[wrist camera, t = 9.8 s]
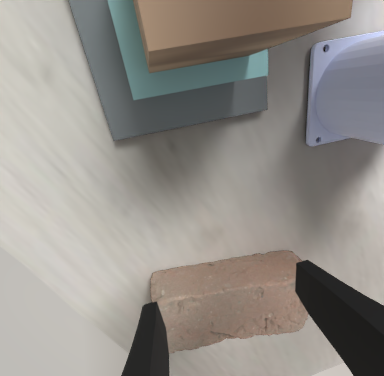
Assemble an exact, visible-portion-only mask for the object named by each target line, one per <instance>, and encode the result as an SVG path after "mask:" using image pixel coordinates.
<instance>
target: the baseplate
mask: <svg viewBox="0 0 384 376" xmlns="http://www.w3.org/2000/svg"><path fill="white" fill-rule="evenodd" d="M69 4H70V7H71V10H72V13H73V16H74V19H75V22H76V25H77V28H78V32H79V35H80V38H81V41H82V44H83V47H84V50H85V53H86V56H87V60H88V63H89V66H90V69H91V72H92V75H93V78H94V81H95V84H96V87H97V91H98V94H99V97H100V100H101V103H102V106H103V109H104V112H105V115H106V119H107V122H108V125H109V128H110V131H111V134H112V137H113V140H114V141H115V140H120V139H125V138H130V137H135V136H140V135H145V134H150V133H155V132H160V131H165V130H170V129H175V128H180V127H185V126H190V125H195V124H199V123H204V122H209V121H214V120H219V119H224V118H229V117H234V116H239V115H244V114H249V113H254V112H259V111H264V110H267V76H261V77H256V78H250V79H245V80H240V81H234V82H229V83H224V84H218V85H213V86H208V87H202V88H197V89H192V90H186V91H181V92H176V93H170V94H165V95H159V96H154V97H149V98H143V99H138V100H133V96H132V92H131V88H130V84H129V81H128V77H127V73H126V69H125V65H124V61H123V58H122V54H121V50H120V46H119V42H118V39H117V35H116V31H115V27H114V23H113V19H112V16H111V12H110V8H109V4H108V0H69Z"/></svg>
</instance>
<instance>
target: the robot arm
mask: <svg viewBox="0 0 384 376" xmlns="http://www.w3.org/2000/svg"><path fill="white" fill-rule="evenodd" d="M324 46H325V48H326V49H325V51H323V47H324ZM317 138H318V140H317V141H316V139H317ZM348 138H355V139H360V140H364V141H369V142H373V143H378V144H382V145H384V31H378V32H373V33H367V34H361V35H356V36H350V37H344V38H339V39H333V40H327V41H322V42H318V43H315V44H314V45H313V46H312V48H311V58H310V76H309V94H308V112H307V130H306V144H307V145H308V146H317V145H321V144H326V143H330V142H335V141H339V140H344V139H348ZM295 292H296V294H297V295H298V297H299V299H300V301H301V302H302V304H303V306H304V307H305V309H306V311H307V312H308V313H309V315H310V316H311V318H312V319H313V320H314V322H315V323H316V324H317V326H318V327H319V328H320V330H321V331H322V332H323V334H324V335H325V336H326V338H327V339H328V341H329V342H330V343H331V345H332V346H333V347H334V349H335V350H336V351H337V353H338V354H339V355H340V357H341V358H342V359H343V361H344V362H345V364H346V365H347V366H348V368H349V369H350V371H351V372H352V374H353V376H384V306H383V305H381V304H380V303H378V302H376V301H374V300H372V299H370V298H369V297H367V296H365V295H363V294H362V293H360V292H358V291H357V290H355V289H353V288H352V287H350V286H348V285H347V284H345V283H343V282H342V281H340V280H338V279H337V278H335V277H334V276H332V275H331V274H329V273H327V272H326V271H324V270H323V269H321V268H320V267H318V266H316V265H315V264H313V263H312V262H310V261H308V260H305V261H302V262H298V263H296V281H295ZM121 376H169V350H168V341H167V332H166V327H165V324H164V321H163V318H162V315H161V312H160V309H159V306H158V303H157V301H156V302H152V303H149V304H145V305H144V306H143V307H142V311H141V316H140V320H139V323H138V327H137V331H136V334H135V337H134V341H133V344H132V347H131V350H130V353H129V356H128V359H127V362H126V365H125V367H124V370H123V372H122V375H121Z"/></svg>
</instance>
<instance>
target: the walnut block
mask: <svg viewBox="0 0 384 376" xmlns="http://www.w3.org/2000/svg"><path fill="white" fill-rule="evenodd" d="M352 1H353V0H133V3H134V8H135V12H136V17H137V21H138V26H139V30H140V35H141V39H142V44H143V48H144V53H145V57H146V61H147V66H148V70H149V73H154V72H160V71H165V70H171V69H177V68H182V67H188V66H194V65H199V64H205V63H211V62H216V61H222V60H228V59H233V58H239V57H245V56H250V55H252V54H255V53H258V52H260V51H263V50H266V49H268V48H271V47H274V46H276V45H279V44H282V43H284V42H287V41H290V40H292V39H295V38H298V37H300V36H303V35H306V34H308V33H311V32H314V31H316V30H319V29H322V28H324V27H327V26H330V25H332V24H335V23H338V22H340V21H343V20H346V19H348V18H351V10H352Z"/></svg>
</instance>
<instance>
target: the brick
mask: <svg viewBox="0 0 384 376" xmlns="http://www.w3.org/2000/svg"><path fill="white" fill-rule="evenodd" d="M298 262H302V260H301V259H300V258H299V257H298V256H296V255H295V254H294V253H293V252H291V251H275V252H268V253H266V254H264V255H262V254H260V253H258V254H254V255H252V256H243V257H236V258H230V259H226V260H220V261H215V262H208V263H202V264H198V265H189V266H181V267H177V268H172V269H168V270H162V271H157V272H154V273H152V277H151V287H150V291H151V300H152V302H156V301H157V303H158V306H159V309H160V312H161V315H162V318H163V321H164V324H165V327H166V332H167V341H168V350H169V353H174V352H175V351H182V350H184V349H186V350H192V349H197V348H199V347H201V346H208V345H211V344H214V343H217V342H221V341H223V340H224V339H226V338H227V339H229V338H237V337H238V338H240V339H246V338H249V337H253V336H254V335H272V334H281V333H291V332H296V331H299V330H300V329H301V328H303V326H304V324H305V321H306V320H307V316H308V312H307V311H306V309H305V307H304V306H303V304H302V302H301V301H300V299H299V297H298V295H297V294H296V292H295V281H296V263H298Z"/></svg>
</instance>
